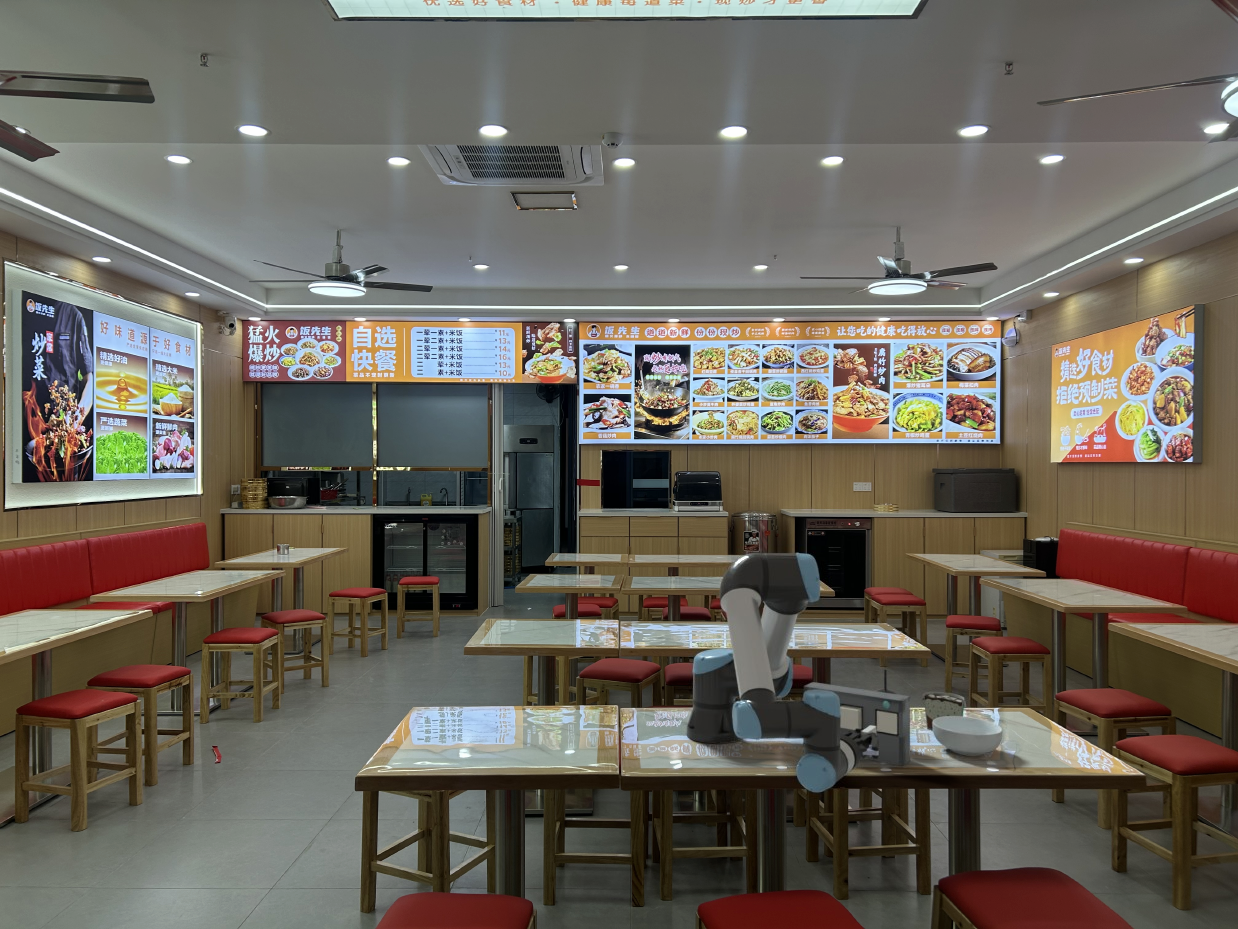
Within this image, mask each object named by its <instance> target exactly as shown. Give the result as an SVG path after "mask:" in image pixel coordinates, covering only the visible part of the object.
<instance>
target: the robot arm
mask: <svg viewBox="0 0 1238 929" xmlns="http://www.w3.org/2000/svg"><path fill="white" fill-rule="evenodd" d="M820 580H821V579H820V572H819V567H818V563H817V561H816V559H815V557H814V556H813V555H811V554H809V553H799V552H790V553H787V552H786V553H784V552H783V553H781V552H780V553H779V552H777V553H776V552H775V553H774V552H773V553H768V552H766V553H759V552H752V553H747V554H744V555H742V556H740V557H739V558H737V559H735V561H733V562H732V563H731V564H730V565H729V567H728V568H727V569H726V571H725V573H724V574H723V577H722V579H721V581H720V585H719V594H718V596H719V601H720V607H721V609H722V610H723V611H724V612H725V613H726V620H727V626H728V631H729V638H730V645H731V648H713V649H707V650H704V651H700V652H699V653H697V654H696V655H695V656H694V657H693V658H694V659H693V665H692V674H693V675H692V676H693V677H692V678H693V681H692V686H693V688H692V709H691V711H690V712H691V713H690V716H689V719H688V722H687V724H686V736H687V738H689V739H690V740H693V741H695V742H699V743H700V742H701V743H705V744H706V743H708V744H728V743H734V742H737V741H739V740H741V739H745V740H746V739H748V740H749V739H750V740H756V741H757V740H760V739H763V740H765V739H766V740H767V739H768V740H770V739H771V740H773V739H784V740H785V739H788V740H790V739H791V740H793V739H794V740H795V739H796V740H798V739H802V742H803V743H802V746H803V752H802V754H803V755H802V756H801V758H800V759H799V761H798V763H797V764H796V771H795V772H796V776H797V780H798V782H799V783H800V784H801V785H802V786H803V787H802V788H805V790H808V791H809V792H813V793H821V792H824V791H826V790H828V789H830V788H832V787H834V785H835V784H836V783H837V782H838V781H839V780H841V779H842V778H843V777H844V776H846V775H848V774H849V772H852V771H853V770H854V769H855V768H856V767H857V766H858V765H859V763H860V762H861V760H862V759H864V758H866V756H867V755H869V756H870V757H873V758H874V759H878V758H879V739H878V736H877V735H876V726H872V725H870V726H868V727H867V728H866V729H864V730H863V731H861V729H858V728H856V729H855V733H852V731H847V732H843V733H840V723H841V714H840V700H839V697H838V695H837V694H835V693H834V692H832V691H828V690H819V689H814V690H808V691H805V692H804V691H803V696H802V699H801V700H777V698H784V697H786V696H787V695H788V694H789V693H790V691H791V688H792V686H793V678H794V667H793V662H792V659H791V658H790V656H788V655H787V653H788V649H789V645H790V643H791V639H792V636H793V633H794V629H795V625H796V621H797V618H798V615H800V614H801V613H802V612H804V611H805V610H806V608H807V606H808V603H813V602H818V601H819V600H820V596H821V581H820ZM762 602H763V603H764V605H763V606H764V607H763V611H762V614H760V609H759V608H760V606H761V603H762ZM737 698H738V699H739V700H737V701H736V699H737ZM867 748H868V749H867Z"/></svg>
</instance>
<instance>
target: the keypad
mask: <svg viewBox="0 0 1238 929" xmlns="http://www.w3.org/2000/svg"><path fill="white" fill-rule="evenodd" d="M814 689H819V690H828V691H832V692H834V693H835V694H837V695H838V697H839V700H840V707H841V706H842V705H844V704H845V705H851V706H857V707H863V728H861V731H863V730H864V729H866V728H867V727H868V726H870V725H872V726H876V735H877V736H878V739H879V758H878V759H874V758H873V757H870V756H869V755H867V756H866V758H863V760H864V759H865V760H869V761H874V762H879V763H884V764H890V765H895V766H901V767H904V766H905V765H906V764H908V763H909V762H910V760H911V696H910V695H905V694H904V695H903V694H900V695H897V694H891V693H884V692H877V691H875V690H869V689H863V688H856V687H855V688H854V687H850V686H849V687H848V686H843V685H835V684H828V683H822V682H821V683H820V682H814V681H812V682H810V683H808V684H806V685H804V686H803V693H804V692H805V691H808V690H814ZM878 710H886V711H892V712H898V713H899V733H898V734H892V733H886V732H880V731H877V711H878ZM847 731H852V733H855V730H852V729H846V728H840V733H843V732H847ZM867 749H868V748H867Z"/></svg>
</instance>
